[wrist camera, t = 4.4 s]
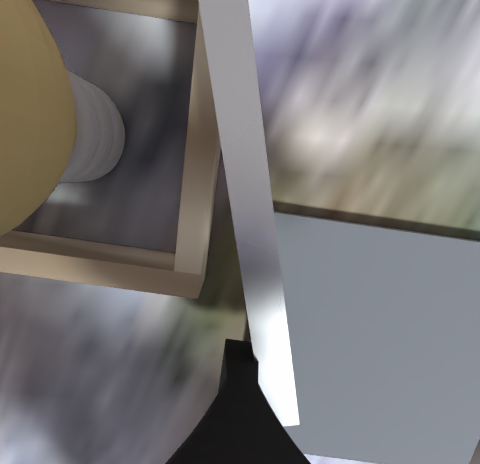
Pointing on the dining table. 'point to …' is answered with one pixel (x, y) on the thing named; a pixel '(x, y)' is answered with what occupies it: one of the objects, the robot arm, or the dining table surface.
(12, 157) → the light bulb
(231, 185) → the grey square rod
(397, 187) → the dining table surface
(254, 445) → the robot arm
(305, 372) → the gray square panel
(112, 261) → the square wooden frame
